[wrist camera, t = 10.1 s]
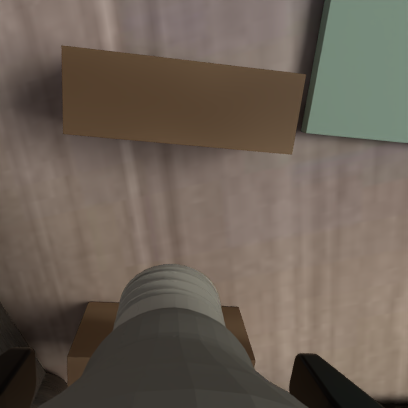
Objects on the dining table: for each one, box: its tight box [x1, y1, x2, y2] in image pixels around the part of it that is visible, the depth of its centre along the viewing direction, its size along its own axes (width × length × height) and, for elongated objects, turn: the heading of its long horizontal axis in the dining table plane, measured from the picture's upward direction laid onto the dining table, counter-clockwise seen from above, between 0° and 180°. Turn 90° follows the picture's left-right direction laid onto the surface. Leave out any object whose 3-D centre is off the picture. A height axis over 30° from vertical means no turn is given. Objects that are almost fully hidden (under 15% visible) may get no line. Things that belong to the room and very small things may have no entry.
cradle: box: [61, 45, 306, 387], centre depth 13 cm, size 13×7×4 cm, turn 174°
